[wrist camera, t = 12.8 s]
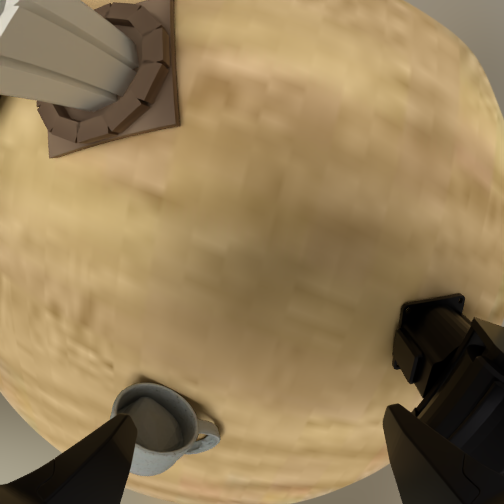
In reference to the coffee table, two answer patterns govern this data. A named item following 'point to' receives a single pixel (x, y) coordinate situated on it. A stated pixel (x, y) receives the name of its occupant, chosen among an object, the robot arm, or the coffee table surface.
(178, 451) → the ceramic mug
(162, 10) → the holder
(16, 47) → the tube
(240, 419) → the coffee table surface
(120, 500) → the robot arm
